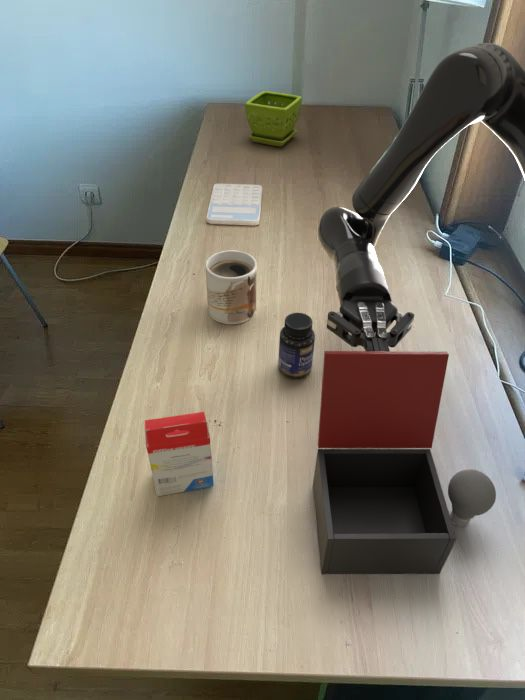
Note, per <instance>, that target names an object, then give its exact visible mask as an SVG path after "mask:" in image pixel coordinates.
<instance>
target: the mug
mask: <svg viewBox="0 0 525 700" xmlns="http://www.w3.org/2000/svg"><path fill="white" fill-rule="evenodd" d="M204 265H205V278H206V279H205V283H206V301H207V312H208V315H209V316H210V317H211V318H212V319H213V320H214V321H216V322H218V323H221V324H225V325H239V324H243V323H246V322H248V321H250V320H251V319H252V318H253V317H254V316H255V315H256V312H257V282H258V281H257V280H258V279H257V275H258V273H257V271H258V270H257V269H258V264H257V260H256V258H255V257H253V255H251V254H249V253H247V252H245V251H242V250H236V249H235V250H234V249H229V250H228V249H227V250H221V251H218V252H215V253H213V254H212V255H210V256H209V257H208V258H207V259H206V261H205V264H204Z"/></svg>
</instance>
